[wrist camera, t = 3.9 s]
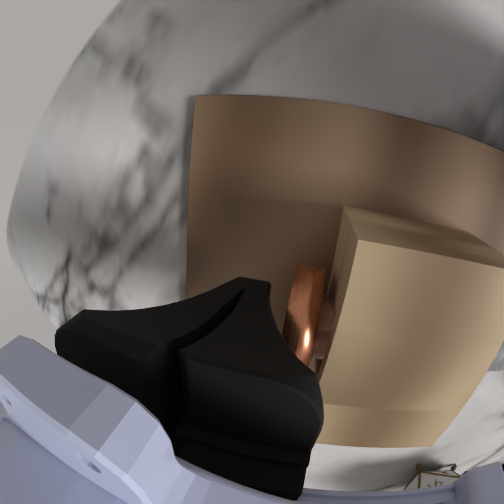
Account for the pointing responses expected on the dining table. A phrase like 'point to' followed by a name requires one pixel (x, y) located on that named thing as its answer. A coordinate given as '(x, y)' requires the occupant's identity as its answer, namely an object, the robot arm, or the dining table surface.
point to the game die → (433, 478)
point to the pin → (320, 317)
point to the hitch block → (359, 249)
